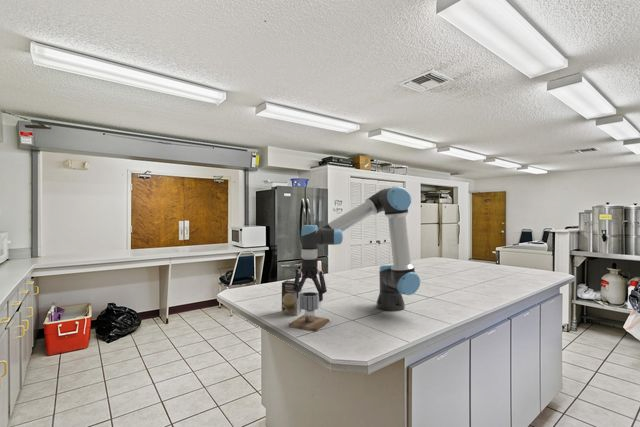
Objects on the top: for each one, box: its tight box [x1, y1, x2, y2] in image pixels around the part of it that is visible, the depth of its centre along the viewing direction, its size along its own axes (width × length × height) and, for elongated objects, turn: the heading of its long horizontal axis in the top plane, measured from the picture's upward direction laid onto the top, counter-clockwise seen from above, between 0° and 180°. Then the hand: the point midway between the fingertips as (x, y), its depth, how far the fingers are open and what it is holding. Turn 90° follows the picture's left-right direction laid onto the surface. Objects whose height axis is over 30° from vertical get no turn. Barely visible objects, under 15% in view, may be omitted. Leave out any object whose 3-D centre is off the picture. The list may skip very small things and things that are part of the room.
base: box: [288, 314, 330, 332], centre depth 144 cm, size 14×14×1 cm
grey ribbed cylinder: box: [300, 291, 319, 311], centre depth 144 cm, size 9×9×6 cm
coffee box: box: [281, 279, 303, 316], centre depth 161 cm, size 9×6×16 cm
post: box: [304, 310, 315, 323], centre depth 144 cm, size 4×4×7 cm
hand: (309, 306), depth 144 cm, fingers closed on grey ribbed cylinder, 9 cm apart
